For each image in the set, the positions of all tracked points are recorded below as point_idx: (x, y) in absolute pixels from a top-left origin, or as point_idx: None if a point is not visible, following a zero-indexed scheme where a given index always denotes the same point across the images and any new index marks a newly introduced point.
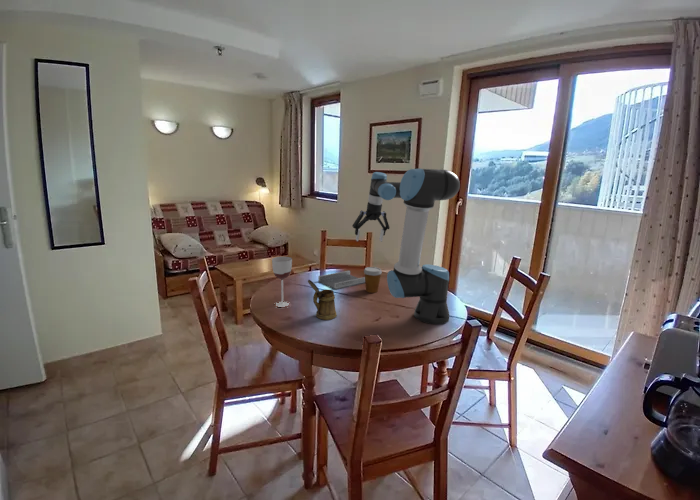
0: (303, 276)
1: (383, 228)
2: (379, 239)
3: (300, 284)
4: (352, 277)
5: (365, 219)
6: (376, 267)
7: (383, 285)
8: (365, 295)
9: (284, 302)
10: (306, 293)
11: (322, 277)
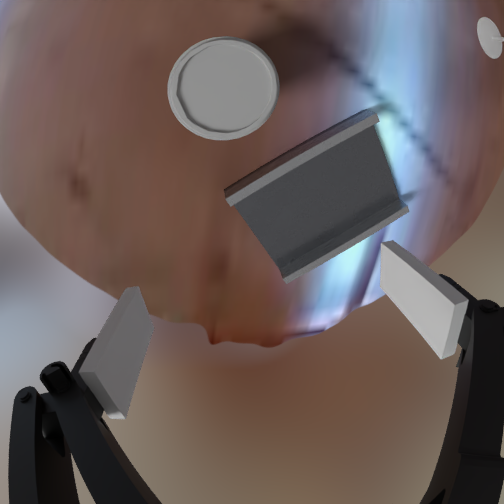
0: (419, 253)
1: (81, 396)
2: (151, 326)
3: (445, 181)
4: (276, 240)
5: (497, 461)
6: (193, 129)
7: (155, 160)
8: (258, 35)
9: (489, 44)
10: (447, 96)
11: (395, 209)
